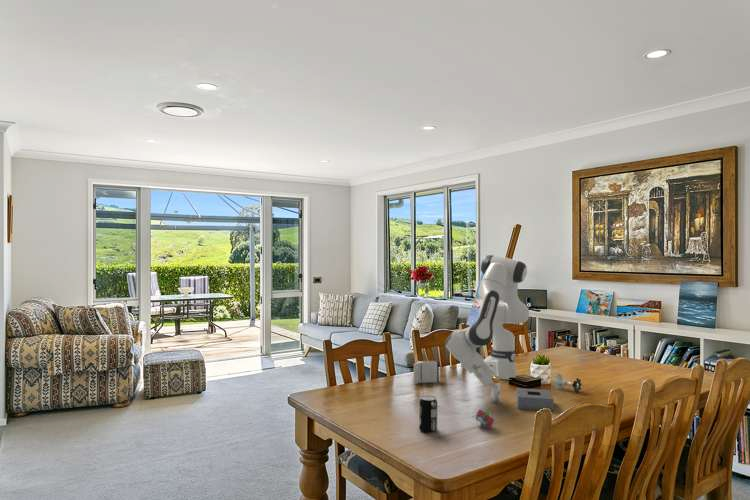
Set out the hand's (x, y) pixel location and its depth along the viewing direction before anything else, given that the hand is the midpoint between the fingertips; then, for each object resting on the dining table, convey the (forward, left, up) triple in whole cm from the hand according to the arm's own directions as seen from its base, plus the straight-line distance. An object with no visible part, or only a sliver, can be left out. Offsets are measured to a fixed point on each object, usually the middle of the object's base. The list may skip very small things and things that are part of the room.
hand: (497, 387), depth 220 cm
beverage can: (+3, -48, -7) cm, 49 cm away
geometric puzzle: (+15, -30, -7) cm, 35 cm away
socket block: (+12, +9, -7) cm, 17 cm away
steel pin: (-1, 0, -7) cm, 7 cm away
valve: (+10, +42, -7) cm, 44 cm away
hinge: (-44, +2, -7) cm, 44 cm away
